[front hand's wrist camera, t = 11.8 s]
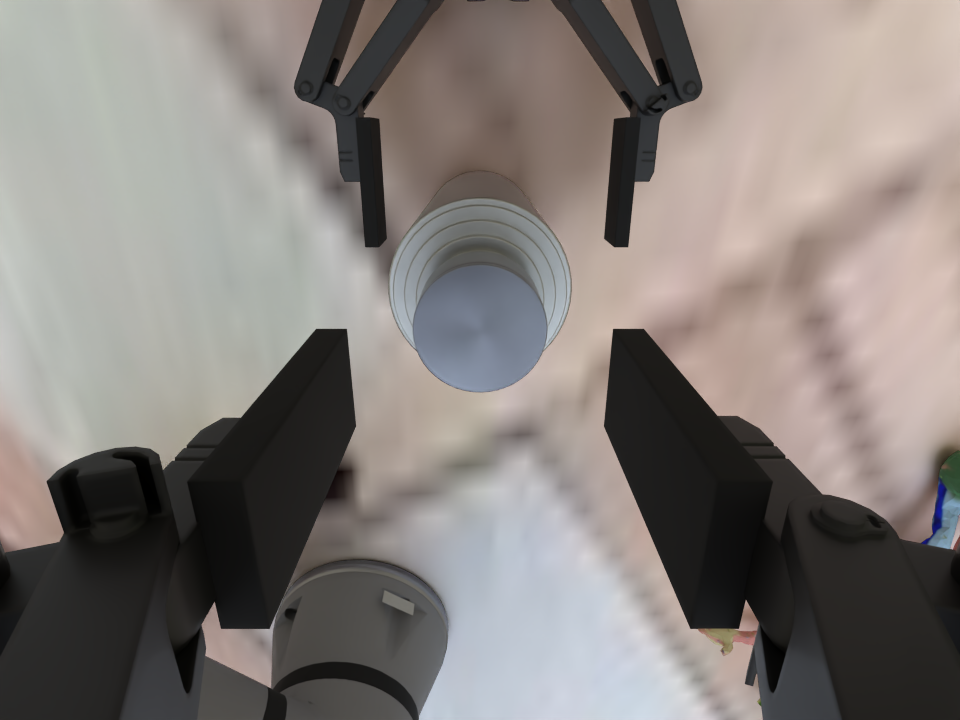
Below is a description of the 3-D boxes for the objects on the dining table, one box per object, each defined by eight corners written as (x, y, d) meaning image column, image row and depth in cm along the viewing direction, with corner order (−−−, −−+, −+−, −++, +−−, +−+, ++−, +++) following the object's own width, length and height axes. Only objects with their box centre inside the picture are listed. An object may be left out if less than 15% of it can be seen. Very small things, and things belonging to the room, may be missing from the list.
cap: (531, 373, 20) (536, 398, 19) (414, 361, 20) (408, 386, 18) (549, 258, 19) (557, 272, 17) (423, 244, 19) (417, 257, 17)
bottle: (525, 285, 39) (571, 436, 20) (422, 274, 39) (363, 415, 19) (541, 177, 36) (612, 226, 17) (430, 164, 36) (371, 198, 16)
